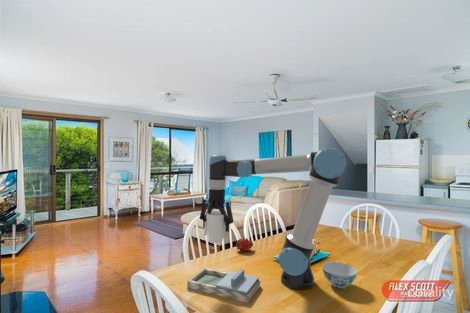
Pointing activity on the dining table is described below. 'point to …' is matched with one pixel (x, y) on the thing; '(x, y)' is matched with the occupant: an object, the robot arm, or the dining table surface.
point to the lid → (237, 282)
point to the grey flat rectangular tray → (208, 282)
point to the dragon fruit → (244, 244)
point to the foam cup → (215, 226)
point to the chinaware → (339, 274)
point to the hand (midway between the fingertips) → (215, 236)
